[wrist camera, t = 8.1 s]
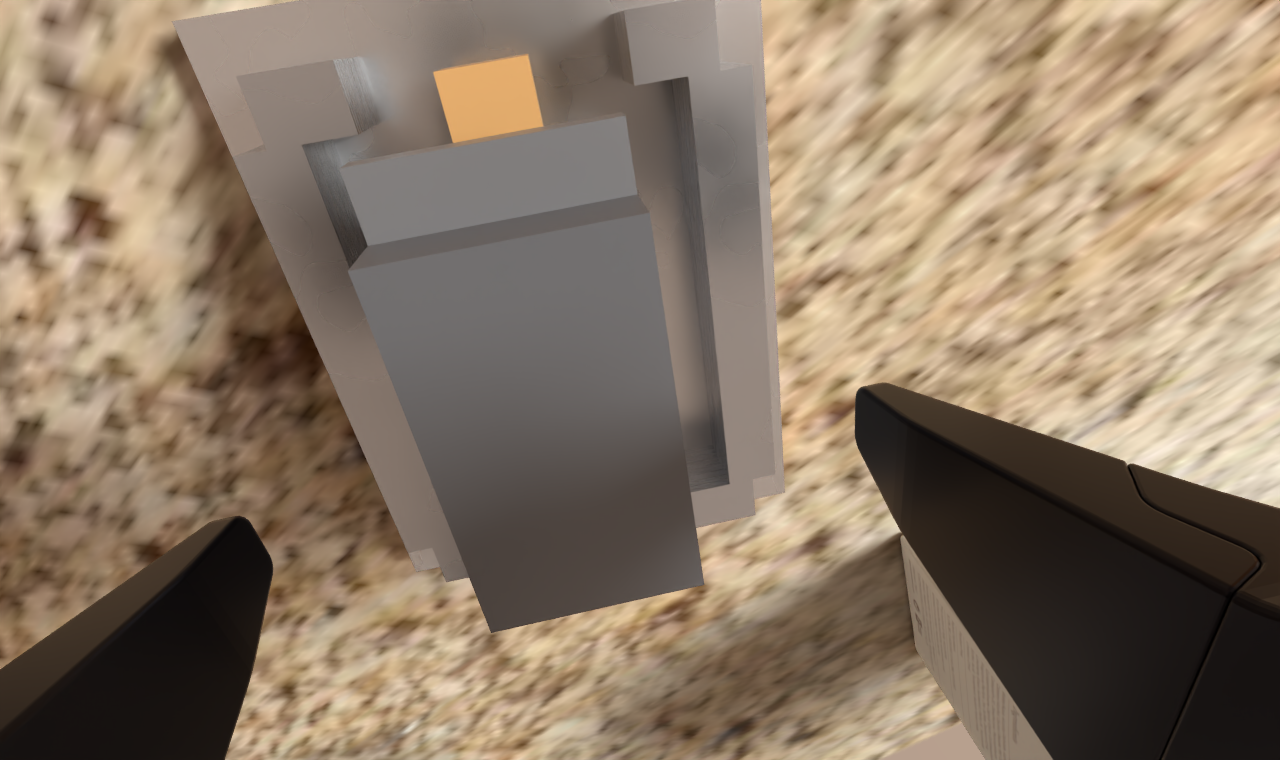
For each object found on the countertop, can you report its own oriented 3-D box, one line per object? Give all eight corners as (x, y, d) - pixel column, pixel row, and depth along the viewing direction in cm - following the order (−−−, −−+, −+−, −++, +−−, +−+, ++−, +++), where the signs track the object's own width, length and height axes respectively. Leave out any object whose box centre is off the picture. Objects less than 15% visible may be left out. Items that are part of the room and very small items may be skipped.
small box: (911, 646, 25) (1231, 1163, 13) (894, 531, 22) (1293, 1076, 10) (1111, 579, 25) (1608, 1044, 13) (1124, 453, 21) (1787, 919, 10)
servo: (658, 450, 18) (709, 624, 12) (515, 481, 17) (506, 671, 12) (587, 42, 13) (625, 44, 8) (387, 77, 13) (282, 105, 7)
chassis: (775, 476, 20) (807, 533, 17) (420, 552, 19) (405, 621, 17) (745, -69, 13) (790, -93, 11) (192, 22, 12) (115, 18, 10)
